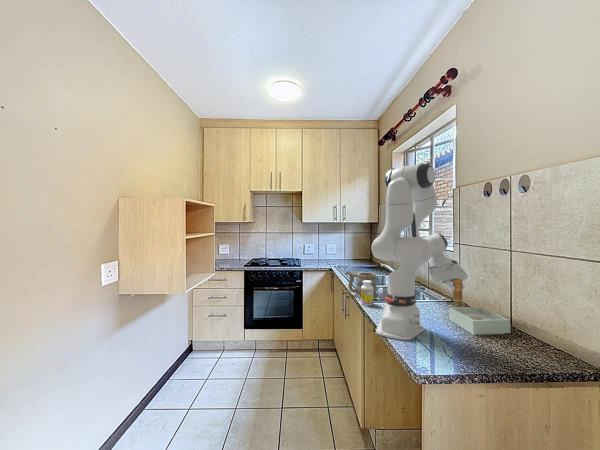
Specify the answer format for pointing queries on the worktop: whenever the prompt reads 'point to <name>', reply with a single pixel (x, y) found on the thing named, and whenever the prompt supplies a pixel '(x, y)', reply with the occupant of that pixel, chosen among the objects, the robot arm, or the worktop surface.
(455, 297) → the peg
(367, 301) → the supplement bottle
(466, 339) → the worktop surface
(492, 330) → the bore box
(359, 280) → the tankard
